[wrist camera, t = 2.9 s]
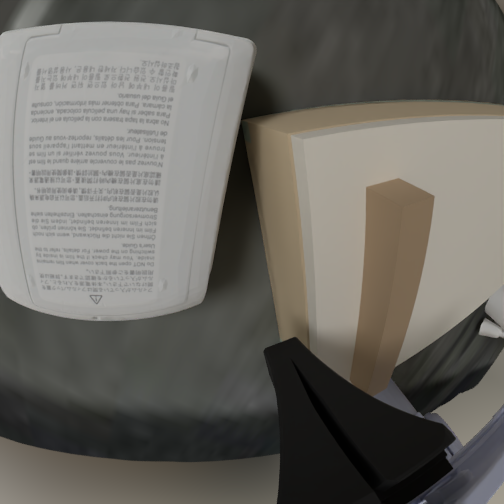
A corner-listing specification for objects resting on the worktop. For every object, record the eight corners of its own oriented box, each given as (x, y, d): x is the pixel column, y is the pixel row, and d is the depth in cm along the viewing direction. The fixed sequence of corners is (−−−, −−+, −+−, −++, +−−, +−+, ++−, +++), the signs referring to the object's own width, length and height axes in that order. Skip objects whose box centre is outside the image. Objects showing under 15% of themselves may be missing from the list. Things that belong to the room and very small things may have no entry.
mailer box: (481, 242, 26) (512, 264, 22) (281, 344, 22) (309, 396, 17) (499, 103, 17) (541, 117, 13) (240, 120, 13) (286, 133, 9)
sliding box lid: (514, 265, 22) (530, 278, 20) (311, 399, 17) (329, 430, 15) (543, 118, 13) (565, 128, 11) (290, 135, 8) (339, 153, 6)
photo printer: (22, 44, 7) (26, 281, 13) (-22, 32, 4) (4, 335, 9) (239, 51, 11) (199, 283, 17) (277, 35, 7) (216, 337, 13)
